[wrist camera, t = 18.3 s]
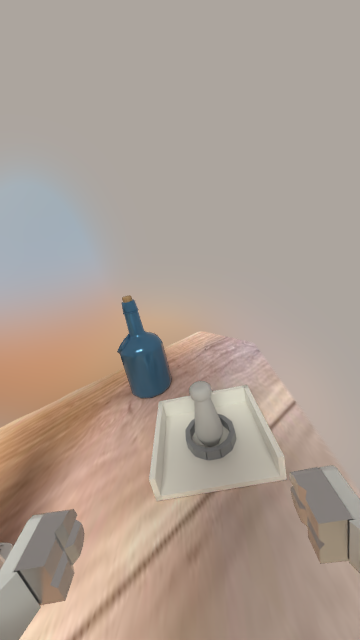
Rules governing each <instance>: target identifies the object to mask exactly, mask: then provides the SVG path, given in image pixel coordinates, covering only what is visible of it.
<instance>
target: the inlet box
mask: <svg viewBox="0 0 360 640" xmlns="http://www.w3.org/2000/svg"><path fill="white" fill-rule="evenodd" d="M210 398H211V400H212V402H213V404H214V407H215V409H216V411H217V414H218V416H219V418H220V421H221V423H222V425H223V434H222V436H221V438H220V441H219V443H218V444H217V445H214V446H212V447H208V446H206V445H204V444H202V443H201V442H200V441H199V439H198V438H197V436H196V433H195V406H194V400H192V399H191V396H185V397H180V398H174V399H169V400H164V401H159V405H158V413H157V420H156V428H155V436H154V444H153V452H152V460H151V468H150V476H149V481H150V484H151V487H152V490H153V493H154V496H155V499H156V501H161V500H167V499H173V498H179V497H185V496H191V495H197V494H203V493H209V492H215V491H221V490H227V489H233V488H239V487H245V486H251V485H257V484H263V483H269V482H275V481H281V480H287V478H286V468H285V458H284V455H283V453H282V451H281V449H280V447H279V445H278V443H277V441H276V439H275V437H274V436H273V434H272V432H271V430H270V428H269V426H268V424H267V422H266V420H265V418H264V416H263V414H262V413H261V411H260V409H259V407H258V405H257V403H256V401H255V399H254V397H253V395H252V393H251V391H250V389H249V388H248V386H247V385H243V386H238V387H232V388H227V389H222V390H217V391H212V394H211V397H210Z"/></svg>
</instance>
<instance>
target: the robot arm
mask: <svg viewBox="0 0 360 640" xmlns="http://www.w3.org/2000/svg"><path fill="white" fill-rule="evenodd" d="M289 477H290V481H291V483H292V485H293V486H292V488H291V495H292V499H293V503H294V506H295V508H296V511H297V513H298V516H299V518H300V520H301V522H302V523H304V524H305V525H306V526H307V528H308V538H309V540H310V542H311V544H312V546H313V549H314V551H315V553H316V555H317V557H318V559H319V561H320V564H323V563H332V562H341V561H349V563H350V564H351V565H352V566H353V567H354V568H355V569H356V570H357V571H358V572H359V573H360V499H359V498H358V496H357V495H356V494H355V492H354V491H353V490H352V488H351V487H350V486H349V484H348V483H347V482H346V480H345V479H344V477H343V476H342V475H341V473H340V472H339V471H338V469H337V468H336V467H334V466H333V465H329V466H324V467H319V468H317V467H316V468H310V469H305V470H300V471H294V472H290V474H289ZM76 517H77V514H76V512H75V510H74V509H71V510H64V511H57V512H51V513H43V514H37V515H33V516H32V517H31V518H30V519H29V520H28V522H27V523H26V525H25V527H24V529H23V530H22V532H21V534H20V536H19V538H18V539H17V541H16V543H15V545H14V546H13V545H12V544H11V543H0V640H19V639H20V637H21V636H22V634H23V633H24V631H25V630H26V628H27V627H28V625H29V624H30V622H31V621H32V619H33V618H34V616H35V615H36V613H37V612H38V610H39V609H40V607H41V606H40V605H44V604H50V603H55V602H61V601H65V600H66V597H67V594H68V591H69V588H70V585H71V581H72V578H73V575H74V568H73V564H74V563H75V561H76V560H77V559H78V558H79V556H80V554H81V550H82V547H83V542H84V529H83V526H82V524H81V523H80V522H79V521H77V520H75V519H76Z"/></svg>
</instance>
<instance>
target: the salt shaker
mask: <svg viewBox="0 0 360 640" xmlns="http://www.w3.org/2000/svg"><path fill="white" fill-rule="evenodd" d="M189 393H190V396H191V399H192V400H194V406H195V433H196V436H197V438H198V439H199V441H200V442H201V443H202V444H204V445H206V446H208V447H212V446H214V445H217V444H218V443H219V441H220V438H221V436H222V434H223V425H222V423H221V421H220V418H219V416H218V414H217V411H216V409H215V407H214V404H213V402H212V400H211V398H210V397H211V394H212V389H211V386H210V385H209V383H207V382H205V381H198V382H195V383H193V384H192V385H191V386H190V389H189Z"/></svg>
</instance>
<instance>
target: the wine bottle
mask: <svg viewBox="0 0 360 640" xmlns="http://www.w3.org/2000/svg"><path fill="white" fill-rule="evenodd" d="M122 300H123V302H122V308H123V314H124V315H125V319H126V323H127V326H128V330H129V334H128V335H127V337H126V338H125V339H124V340H123V342H122V343H121V345H120V347H119V349H118V351H117V352H118V353H119V354H120V355H121V359H122V362H123V365H124V368H125V372H126V375H127V378H128V381H129V384H130V387H131V390H132V393H133V395H134V396H137V397H139V398H152V397H154V396H157V395H159V394H162V393H163V392H164V391H165V390H167V389H168V388H169V386H170V383H171V380H172V378H171V374H170V370H169V366H168V362H167V358H166V354H165V350H164V346H163V343H162V341H161V339H160V338H159V337H158V336H157V335H156V334H154V333H151V332H145V331H144V329H143V326H142V323H141V320H140V316H139V313H138V308H137V306H136V303H135V301H134V300H132V298H131V296H125V297H123V298H122Z"/></svg>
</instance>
